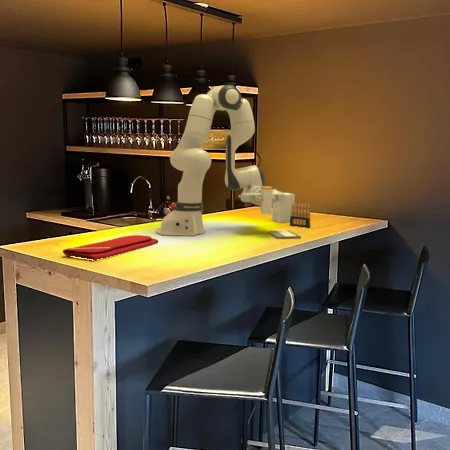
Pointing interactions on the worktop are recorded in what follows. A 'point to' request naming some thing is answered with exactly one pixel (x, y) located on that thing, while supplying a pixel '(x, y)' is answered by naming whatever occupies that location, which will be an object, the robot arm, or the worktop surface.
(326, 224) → the worktop surface
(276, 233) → the board
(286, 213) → the supplement box
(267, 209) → the orange-capped beige pillar
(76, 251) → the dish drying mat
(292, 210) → the ammunition clip
